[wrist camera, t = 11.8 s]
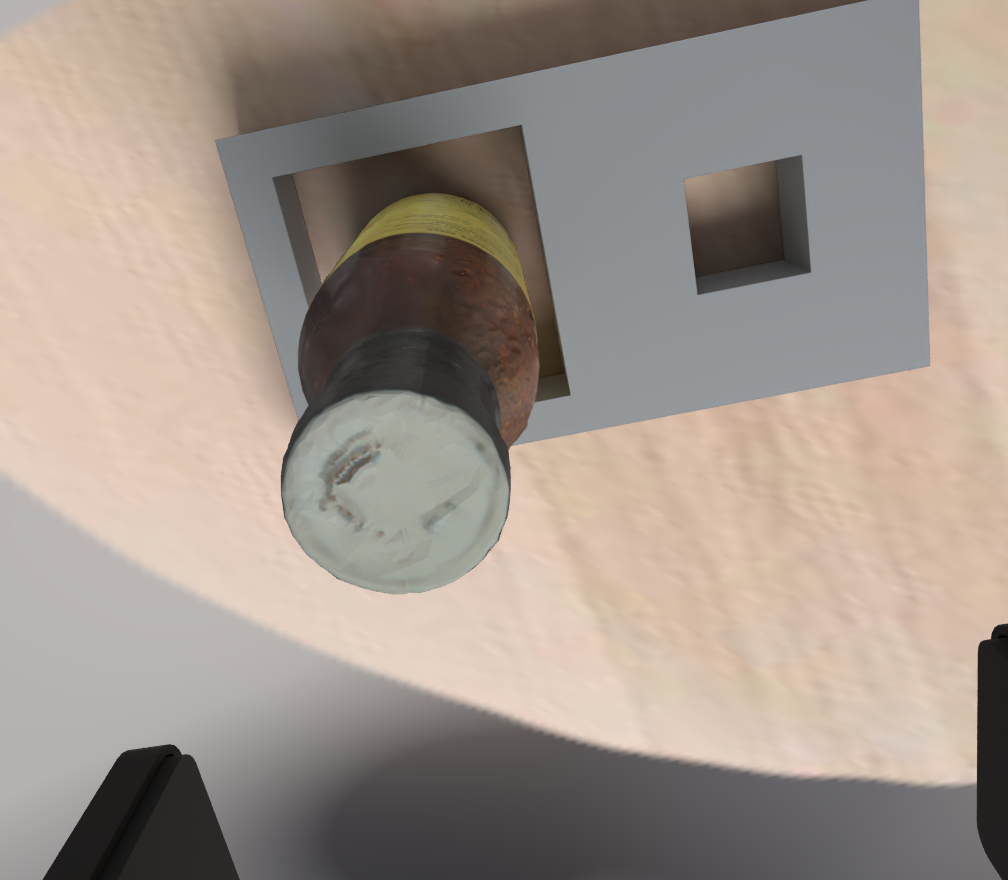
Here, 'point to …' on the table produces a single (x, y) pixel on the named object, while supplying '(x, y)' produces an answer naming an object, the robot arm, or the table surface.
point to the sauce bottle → (412, 398)
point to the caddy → (668, 211)
